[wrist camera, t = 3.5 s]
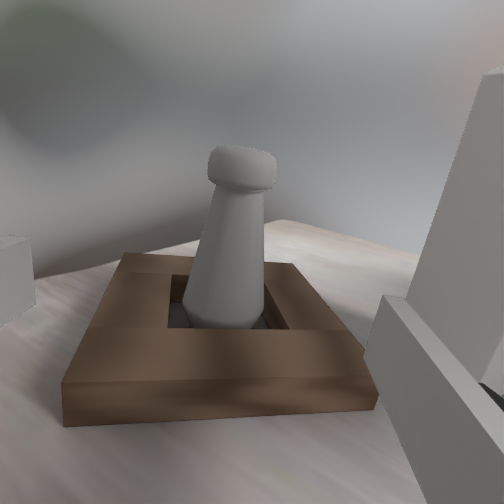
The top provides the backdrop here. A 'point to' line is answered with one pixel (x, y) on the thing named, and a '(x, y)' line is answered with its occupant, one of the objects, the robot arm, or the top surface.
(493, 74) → the milk
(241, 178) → the salt shaker
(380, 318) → the robot arm
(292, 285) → the socket block
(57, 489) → the top surface
